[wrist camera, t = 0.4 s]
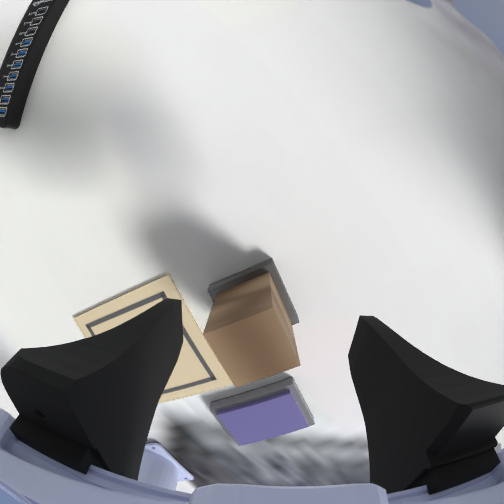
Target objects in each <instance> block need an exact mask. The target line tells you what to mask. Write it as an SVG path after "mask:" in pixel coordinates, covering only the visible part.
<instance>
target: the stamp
mask: <svg viewBox="0 0 504 504" xmlns="http://www.w3.org/2000/svg"><path fill="white" fill-rule="evenodd" d="M208 292H209V294H210V296H211V298H212V300H213V302H214V303H213V306H212V309H211V312H210V315H209V318H208V321H207V324H206V327H205V330H204V333H203V335H204V337H205V339H206V340H207V342H208V344H209V345H210V347H211V349H212V350H213V352H214V354H215V355H216V357H217V359H218V360H219V362H220V363H221V365H222V367H223V368H224V370H225V371H226V373H227V375H228V376H229V378H230V379H231V381H232V382H233V384H234V386H235V387H239V386H242V385H245V384H248V383H251V382H254V381H258V380H261V379H264V378H267V377H270V376H272V375H275V374H278V373H281V372H284V371H287V370H289V369H292V368H295V367H297V366H300V361H299V357H298V352H297V347H296V342H295V338H294V333H293V328H292V325H294V324H296V323H299V319H298V315H297V313H296V311H295V309H294V306H293V304H292V302H291V300H290V297H289V295H288V293H287V290H286V288H285V286H284V284H283V281H282V279H281V277H280V275H279V273H278V270H277V268H276V266H275V264H274V261H273V259H272V258H271V259H269V260H267V261H264V262H262V263H260V264H257V265H255V266H253V267H250V268H248V269H246V270H243V271H241V272H239V273H236V274H234V275H232V276H229V277H227V278H224V279H222V280H220V281H217V282H215V283H213V284H210V286H209V288H208Z"/></svg>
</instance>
